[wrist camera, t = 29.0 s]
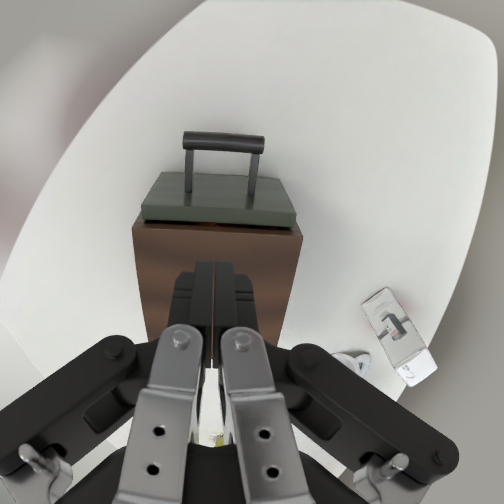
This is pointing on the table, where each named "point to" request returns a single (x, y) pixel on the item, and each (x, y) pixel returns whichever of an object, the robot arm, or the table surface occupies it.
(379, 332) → the ink box
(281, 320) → the cabinet
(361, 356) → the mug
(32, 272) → the table surface
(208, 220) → the drawer
